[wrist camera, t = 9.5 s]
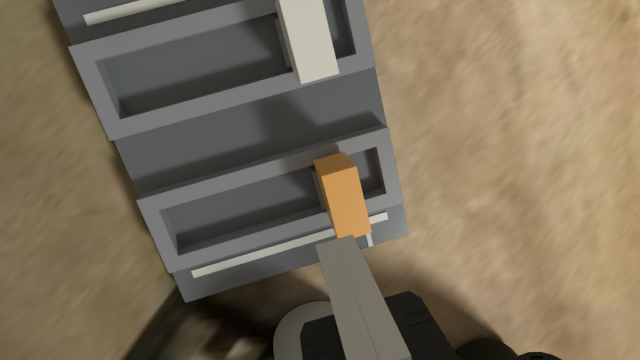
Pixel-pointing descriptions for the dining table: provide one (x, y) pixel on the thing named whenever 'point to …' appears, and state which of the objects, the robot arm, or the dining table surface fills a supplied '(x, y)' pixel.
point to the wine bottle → (486, 351)
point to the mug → (297, 329)
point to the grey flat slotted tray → (233, 131)
